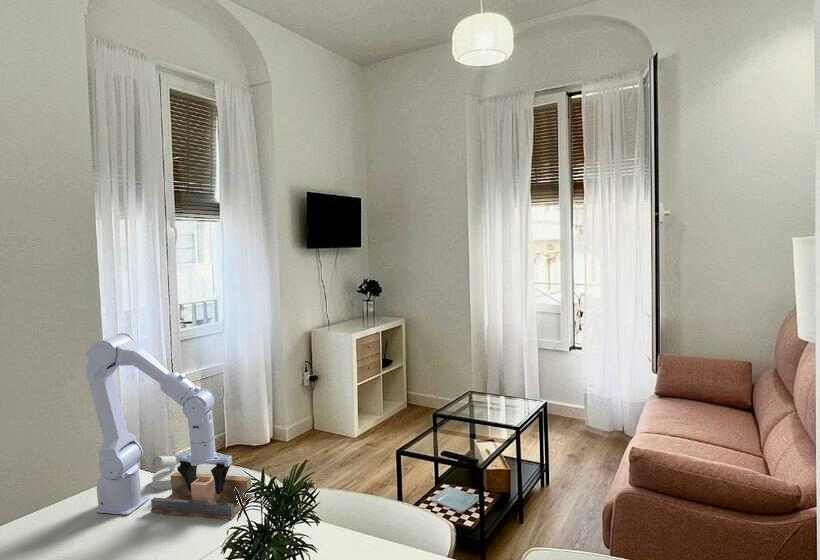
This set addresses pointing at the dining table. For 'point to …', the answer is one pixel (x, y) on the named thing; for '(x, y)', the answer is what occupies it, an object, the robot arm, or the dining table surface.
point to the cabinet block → (204, 489)
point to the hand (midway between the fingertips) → (206, 490)
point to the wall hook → (164, 471)
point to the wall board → (226, 496)
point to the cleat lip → (192, 506)
